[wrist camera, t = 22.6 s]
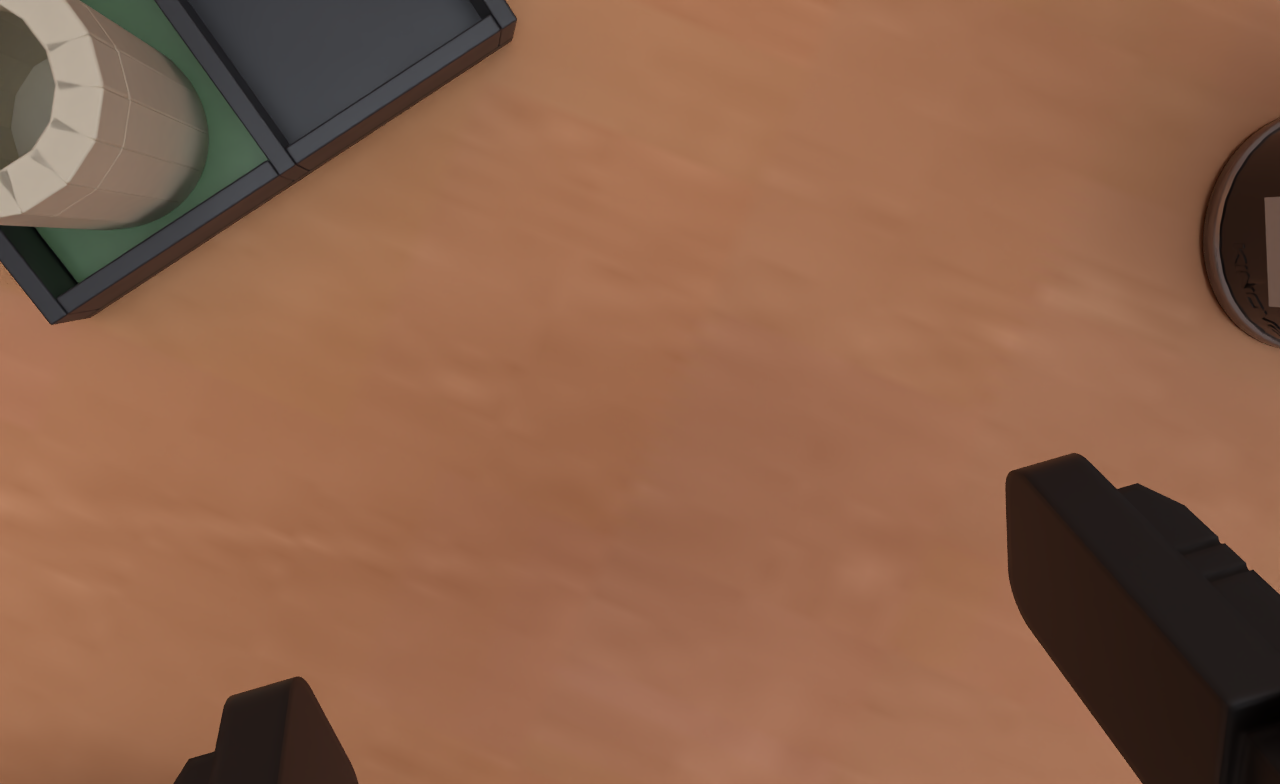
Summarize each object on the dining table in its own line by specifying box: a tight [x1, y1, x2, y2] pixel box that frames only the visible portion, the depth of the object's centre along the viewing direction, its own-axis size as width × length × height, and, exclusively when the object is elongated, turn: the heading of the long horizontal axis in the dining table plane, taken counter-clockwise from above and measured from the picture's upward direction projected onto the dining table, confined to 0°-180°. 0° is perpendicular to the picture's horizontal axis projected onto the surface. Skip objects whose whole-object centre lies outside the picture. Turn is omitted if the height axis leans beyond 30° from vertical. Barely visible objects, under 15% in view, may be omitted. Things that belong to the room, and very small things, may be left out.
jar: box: [0, 0, 209, 230], centre depth 29 cm, size 6×6×10 cm
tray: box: [0, 0, 517, 325], centre depth 33 cm, size 17×9×3 cm, turn 123°
